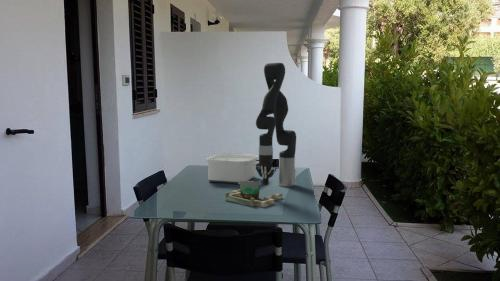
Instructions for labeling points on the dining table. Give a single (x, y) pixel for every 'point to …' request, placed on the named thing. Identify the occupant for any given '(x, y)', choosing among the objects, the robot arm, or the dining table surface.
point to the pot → (231, 167)
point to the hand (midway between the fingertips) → (265, 184)
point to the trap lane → (237, 194)
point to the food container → (250, 189)
